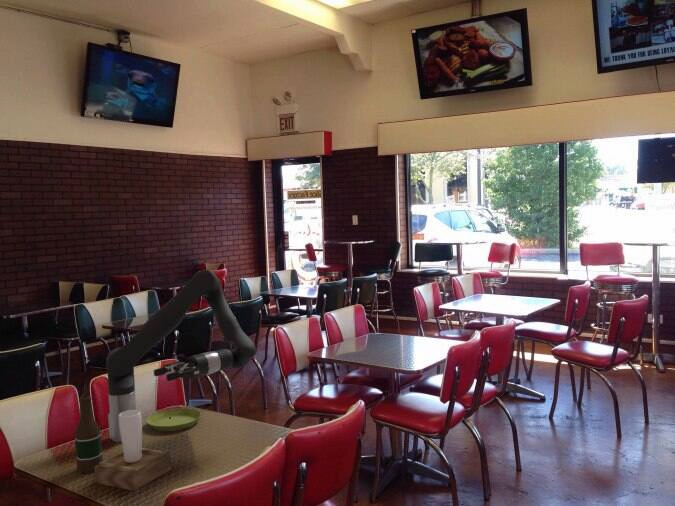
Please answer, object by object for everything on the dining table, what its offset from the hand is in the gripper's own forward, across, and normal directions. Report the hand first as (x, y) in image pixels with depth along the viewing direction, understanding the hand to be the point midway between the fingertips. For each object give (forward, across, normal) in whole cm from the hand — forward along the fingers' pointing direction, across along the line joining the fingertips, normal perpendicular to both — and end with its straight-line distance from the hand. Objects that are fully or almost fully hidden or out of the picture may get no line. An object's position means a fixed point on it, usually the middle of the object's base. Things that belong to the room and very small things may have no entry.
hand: (160, 375), depth 193 cm
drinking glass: (+12, +1, +24) cm, 27 cm away
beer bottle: (+19, -16, +30) cm, 38 cm away
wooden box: (+12, +1, +29) cm, 32 cm away
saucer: (-21, -33, +31) cm, 49 cm away
